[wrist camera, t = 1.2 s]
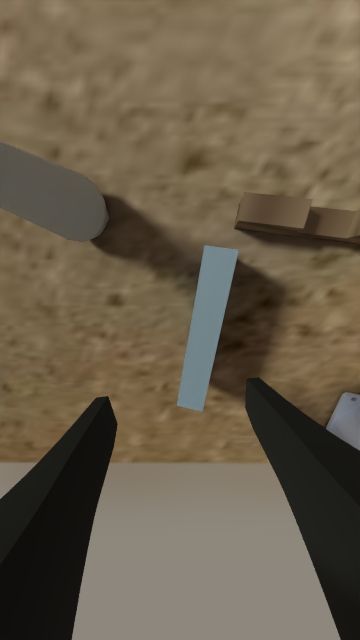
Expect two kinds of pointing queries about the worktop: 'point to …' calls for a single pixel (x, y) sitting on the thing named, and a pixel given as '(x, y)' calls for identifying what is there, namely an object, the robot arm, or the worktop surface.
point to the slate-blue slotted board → (206, 324)
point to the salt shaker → (50, 195)
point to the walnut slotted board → (296, 218)
